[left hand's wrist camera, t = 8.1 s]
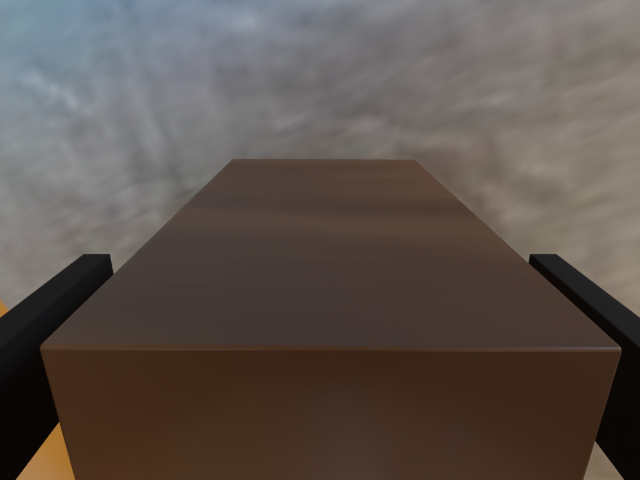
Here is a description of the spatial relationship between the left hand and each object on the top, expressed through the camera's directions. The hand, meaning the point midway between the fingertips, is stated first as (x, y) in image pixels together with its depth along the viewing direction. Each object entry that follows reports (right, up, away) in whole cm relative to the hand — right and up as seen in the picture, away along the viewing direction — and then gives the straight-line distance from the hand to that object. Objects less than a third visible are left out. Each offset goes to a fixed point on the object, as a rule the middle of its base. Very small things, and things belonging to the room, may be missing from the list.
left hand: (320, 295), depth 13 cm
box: (0, -8, +6) cm, 10 cm away
